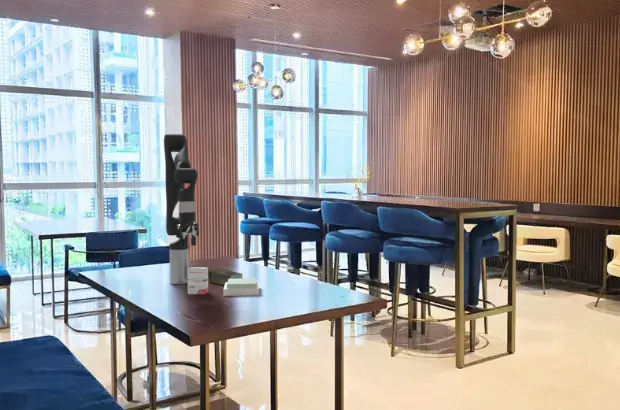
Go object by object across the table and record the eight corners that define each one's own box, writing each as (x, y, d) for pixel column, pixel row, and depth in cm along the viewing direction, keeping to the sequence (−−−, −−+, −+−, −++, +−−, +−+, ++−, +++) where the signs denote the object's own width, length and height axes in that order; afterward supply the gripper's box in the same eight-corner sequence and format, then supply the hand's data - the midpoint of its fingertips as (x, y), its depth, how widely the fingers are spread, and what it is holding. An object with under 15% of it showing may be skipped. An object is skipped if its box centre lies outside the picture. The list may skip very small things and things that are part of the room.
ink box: (208, 292, 260) (208, 266, 259) (205, 294, 255) (205, 268, 254) (190, 291, 261) (190, 266, 260) (187, 294, 256) (186, 268, 255)
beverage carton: (230, 287, 271) (230, 274, 271) (207, 282, 285) (207, 269, 284) (243, 285, 277) (243, 272, 276) (220, 280, 290) (219, 267, 290)
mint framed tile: (225, 288, 268) (225, 278, 267) (259, 287, 269) (259, 277, 269) (223, 295, 252) (223, 284, 252) (259, 295, 253) (259, 284, 253)
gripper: (189, 211, 267) (190, 244, 268) (170, 212, 254) (172, 247, 255) (202, 210, 264) (203, 245, 265) (184, 211, 251) (185, 247, 252)
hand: (188, 246), depth 260 cm, fingers open, 8 cm apart
